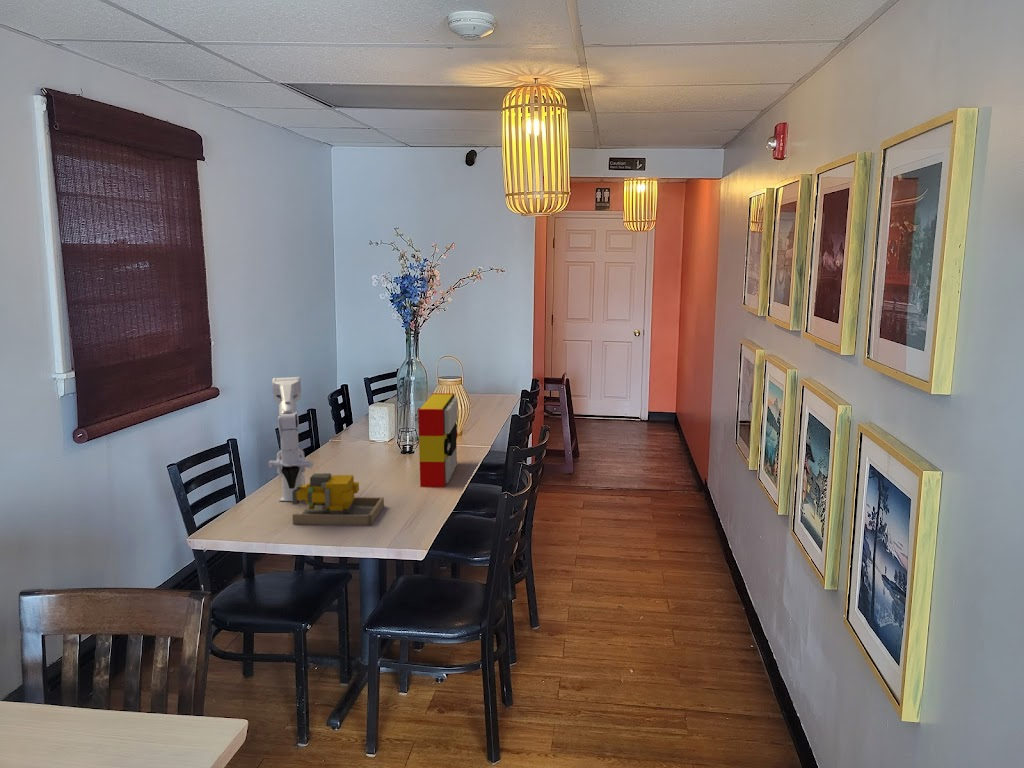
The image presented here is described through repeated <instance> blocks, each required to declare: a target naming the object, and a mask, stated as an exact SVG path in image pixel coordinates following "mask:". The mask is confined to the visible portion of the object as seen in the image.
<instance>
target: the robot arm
mask: <svg viewBox="0 0 1024 768" xmlns="http://www.w3.org/2000/svg"><path fill="white" fill-rule="evenodd" d="M301 379H302V378H301V377H300V376H293V377H273V378H272V381H271V383H272V394H273V399H274V401H275V402H276V403H278V416H277V427H278V431H279V438H280V440H279V441H280V450H279V451H278V452H277V454H276V460H269V461H268V468H277V469H276V471H277V472H276V473H277V474H278V475H280V477H281V487H282V488H281V490H282V497H280V498H279V499H278V501H279V502H293V497H292V492H293V491H294V490H296V489H297V486H298V485H306V476H305V475H304V473H305V472H306V468H309V469H311V468H313V466H314V462H313V460H307V459H306V457H305V451H304V450H303V449H301V448H299V432H298V431H299V429H300V423H299V414H298V411H297V410H298V409H297V402H299V401H301V398H302V381H301ZM299 502H302V500H299Z"/></svg>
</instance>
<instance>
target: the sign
mask: <svg viewBox="0 0 1024 768" xmlns="http://www.w3.org/2000/svg"><path fill="white" fill-rule="evenodd" d="M417 413H418V414H417V415H418V419H417V421H418V449H419V451H418V452H419V453H418V454H419V483H420V484H419V485H420V486H419V487H420V488H445V487H446V484H448V483H449V481H450V480H451V478H452V475H453V473H454V472H455V469H456V467H457V465H458V456H457V454H458V453H457V452H458V451H457V449H458V448H457V440H458V435H459V434H458V424H457V421H458V397H456V396H455V393H449V392H448V393H440V392H439V393H435V392H434V393H431V396H430V397H429V398H428V399H427V400H426V401H425V402H424V403H423V405H421V407H420V408H418V409H417Z"/></svg>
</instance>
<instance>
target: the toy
mask: <svg viewBox="0 0 1024 768" xmlns="http://www.w3.org/2000/svg"><path fill="white" fill-rule="evenodd" d="M354 477H355V476H354V474H343V475H342V474H340V475H339V474H335V475H333V474H332V473H327V472H326V473H325V472H323V473H313V474H312V475H311V476H310V477H309V482H308V484H305V485H298V486H297V489H296V490H294V491H293V492H292V497H293V501H292V505H298V504H299V503H300V501H299V500H301V501H305V505H308V506H309V510H311V509H314V508H315V507H314V504H323V505H322V509H325V514H342V515H343V514H344V513H349V511H350V510H351V508H352V506H353V505H354V503H355V500H354V497H355V494H358V492H359V491H360V483H359V481H354V480H355V478H354Z"/></svg>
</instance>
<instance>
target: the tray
mask: <svg viewBox="0 0 1024 768" xmlns="http://www.w3.org/2000/svg"><path fill="white" fill-rule="evenodd" d="M354 500H355V503H354V505H353V506H352V508H351V510H350V511H349V513H344V514H343V515H342V514H325V509H322V505H323V504H314V507H315V508H314V509H311V510H309V505H308V506H307V507H306V508H305V509H304V510H303V512H301V513H293V514H292V525H315V526H316V525H320V526H321V525H325V526H327V525H328V526H332V525H333V526H335V525H336V526H372V524H373V523H374V522H375V520H376V519H377V517H378V516H379V514H380V513H381V511H382V510H383V509H384V507H385V498H384V497H380V496H379V497H377V496H376V497H373V496H371V497H369V496H363V497H362V496H361V497H359V496H354Z"/></svg>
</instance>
